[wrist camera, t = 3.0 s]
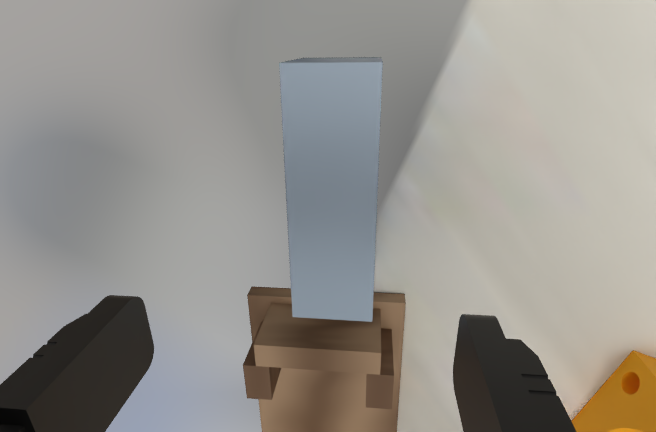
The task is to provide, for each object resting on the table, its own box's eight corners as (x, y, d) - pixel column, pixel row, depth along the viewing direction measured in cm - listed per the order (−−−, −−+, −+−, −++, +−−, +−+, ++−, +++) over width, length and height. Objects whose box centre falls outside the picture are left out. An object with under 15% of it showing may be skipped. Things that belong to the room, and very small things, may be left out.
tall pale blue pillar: (381, 57, 21) (382, 62, 16) (372, 273, 26) (371, 334, 21) (304, 57, 21) (279, 62, 16) (310, 270, 26) (293, 330, 21)
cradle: (404, 294, 26) (410, 347, 22) (391, 483, 33) (394, 553, 29) (251, 286, 27) (226, 335, 23) (270, 471, 34) (254, 537, 30)
